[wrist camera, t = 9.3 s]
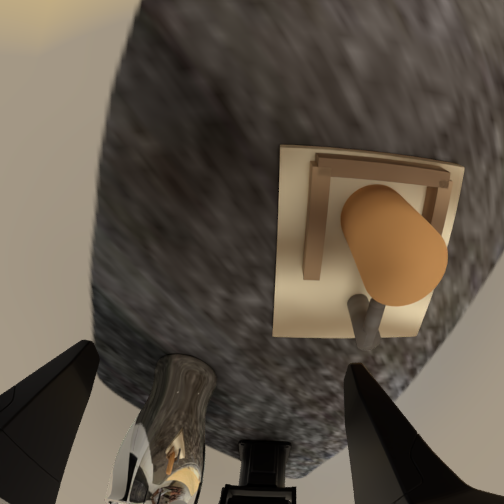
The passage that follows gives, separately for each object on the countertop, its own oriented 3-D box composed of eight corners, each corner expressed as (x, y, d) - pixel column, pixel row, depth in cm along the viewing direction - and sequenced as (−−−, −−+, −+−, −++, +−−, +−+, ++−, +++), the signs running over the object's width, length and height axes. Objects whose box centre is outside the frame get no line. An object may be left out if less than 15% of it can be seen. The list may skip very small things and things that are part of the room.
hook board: (412, 328, 24) (431, 372, 19) (272, 327, 24) (270, 377, 20) (457, 163, 17) (499, 187, 12) (280, 144, 18) (280, 162, 13)
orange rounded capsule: (400, 251, 19) (433, 305, 14) (337, 249, 20) (355, 306, 14) (411, 187, 17) (457, 226, 12) (343, 181, 18) (370, 220, 12)
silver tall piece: (220, 399, 30) (196, 533, 17) (156, 387, 30) (115, 511, 17) (223, 357, 27) (191, 519, 14) (148, 343, 27) (88, 489, 14)
